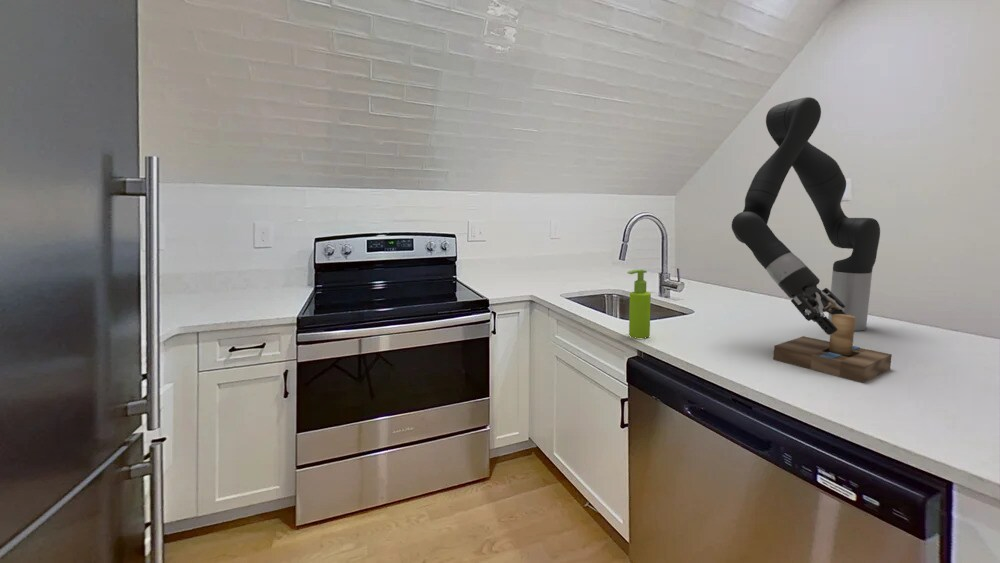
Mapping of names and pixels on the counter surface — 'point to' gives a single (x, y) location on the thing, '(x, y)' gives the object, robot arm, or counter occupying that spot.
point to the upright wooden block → (842, 335)
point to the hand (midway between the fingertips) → (842, 329)
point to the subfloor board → (833, 359)
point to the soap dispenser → (639, 307)
